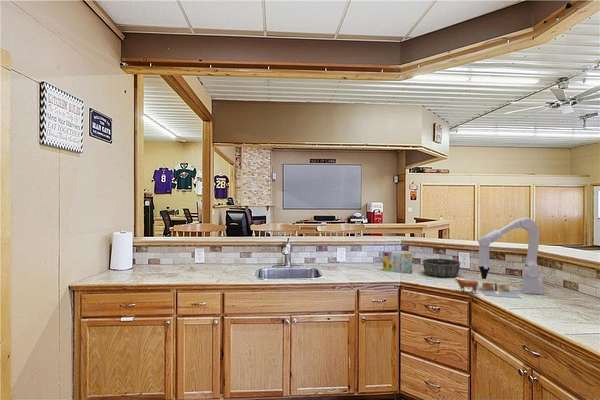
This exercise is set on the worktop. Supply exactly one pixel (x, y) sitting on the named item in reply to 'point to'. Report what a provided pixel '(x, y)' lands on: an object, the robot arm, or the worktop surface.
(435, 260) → the dark grey woven basket
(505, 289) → the fence fixed
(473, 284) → the bull figurine
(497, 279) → the worktop surface
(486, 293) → the card
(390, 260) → the snack box
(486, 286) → the fence hinged
